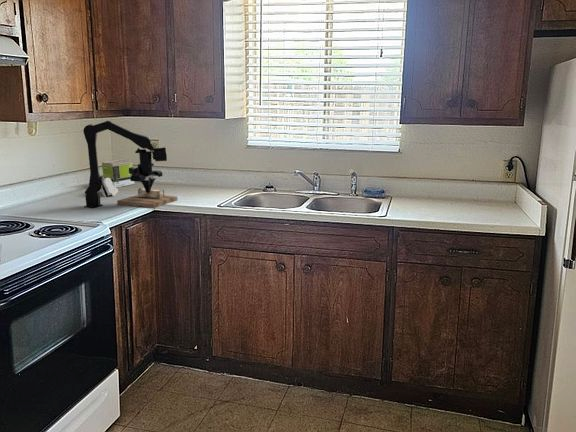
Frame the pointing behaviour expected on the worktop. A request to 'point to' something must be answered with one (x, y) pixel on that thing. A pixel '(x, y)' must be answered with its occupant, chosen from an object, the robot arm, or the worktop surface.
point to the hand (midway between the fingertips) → (147, 192)
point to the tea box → (118, 172)
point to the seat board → (147, 201)
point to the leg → (150, 193)
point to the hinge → (108, 188)
